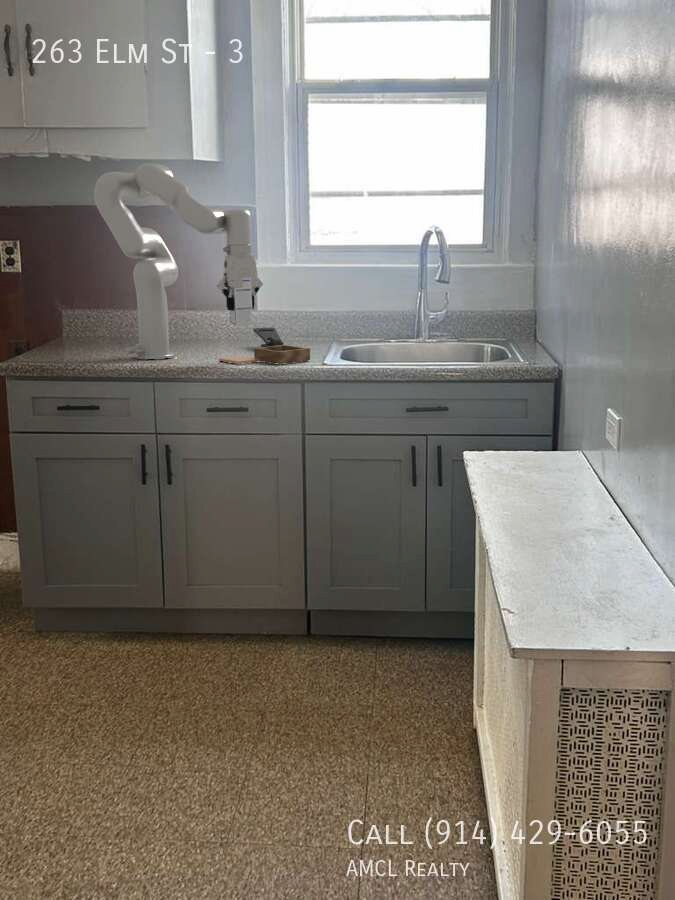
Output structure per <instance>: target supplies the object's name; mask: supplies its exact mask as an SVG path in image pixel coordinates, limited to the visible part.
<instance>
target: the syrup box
mask: <svg viewBox="0 0 675 900" xmlns="http://www.w3.org/2000/svg"><path fill="white" fill-rule="evenodd" d="M243 279H244V280H243V287H241V288H235V289H234V288H233V295H232V297H233V298H234V310H233V311H231V310H229V324H231V325H235V326H247V325H249V326H250V325H253V321H254V320H253V309H252V293H251V278H249V277H244V278H243ZM241 280H242V279H241Z"/></svg>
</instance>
